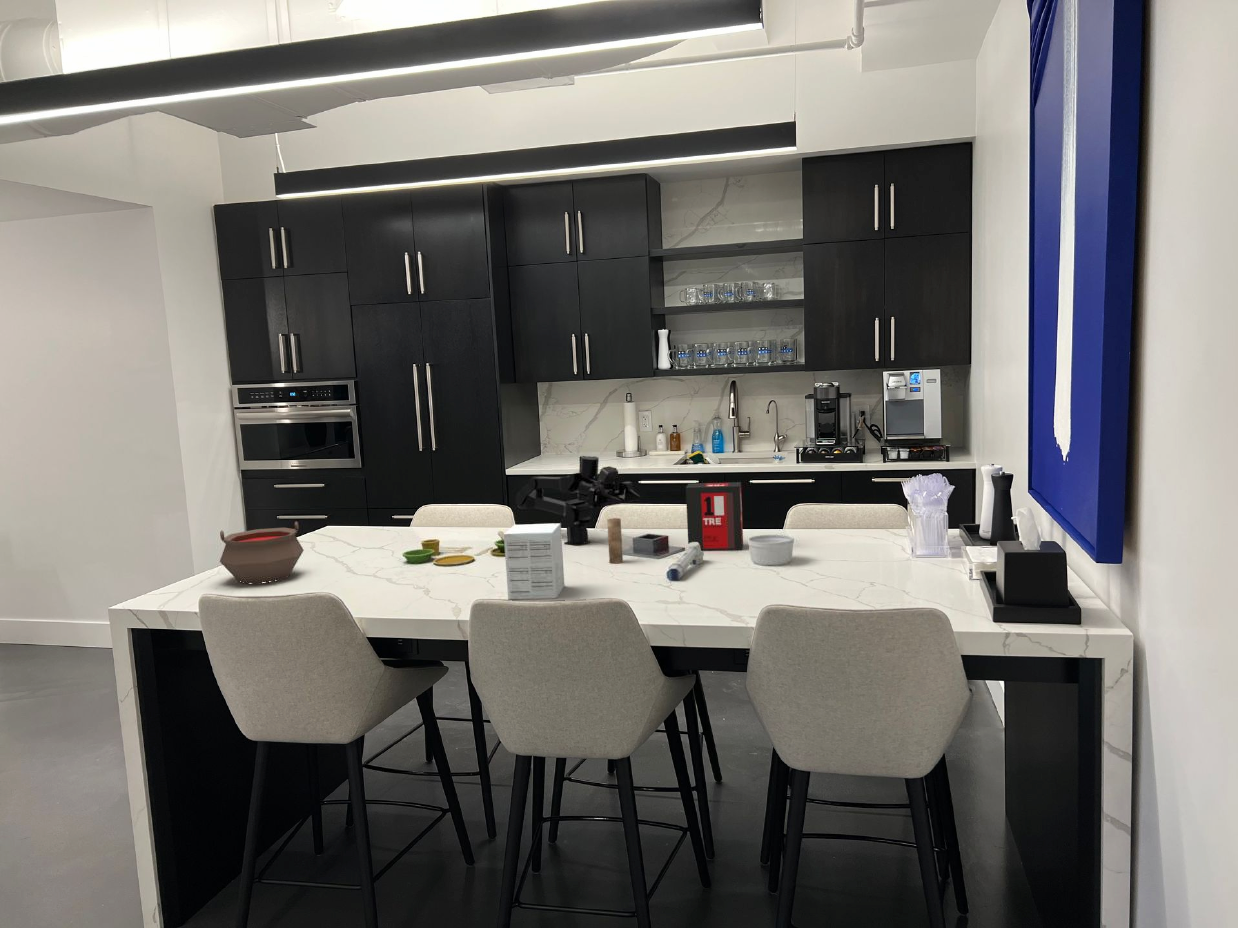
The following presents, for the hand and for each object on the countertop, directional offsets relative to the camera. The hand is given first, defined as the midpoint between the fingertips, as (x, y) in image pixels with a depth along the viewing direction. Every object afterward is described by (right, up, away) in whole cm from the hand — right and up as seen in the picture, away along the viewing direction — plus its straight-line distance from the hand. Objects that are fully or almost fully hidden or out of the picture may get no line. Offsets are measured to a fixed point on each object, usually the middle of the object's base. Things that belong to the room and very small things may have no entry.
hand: (630, 500), depth 289 cm
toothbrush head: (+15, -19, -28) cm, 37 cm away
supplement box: (-25, -23, -44) cm, 56 cm away
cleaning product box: (+27, -15, 0) cm, 31 cm away
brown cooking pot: (-111, -24, -9) cm, 114 cm away
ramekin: (+41, -17, -22) cm, 49 cm away
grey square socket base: (+6, -16, -1) cm, 17 cm away
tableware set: (-50, -19, +6) cm, 54 cm away
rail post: (-4, -18, -12) cm, 22 cm away
